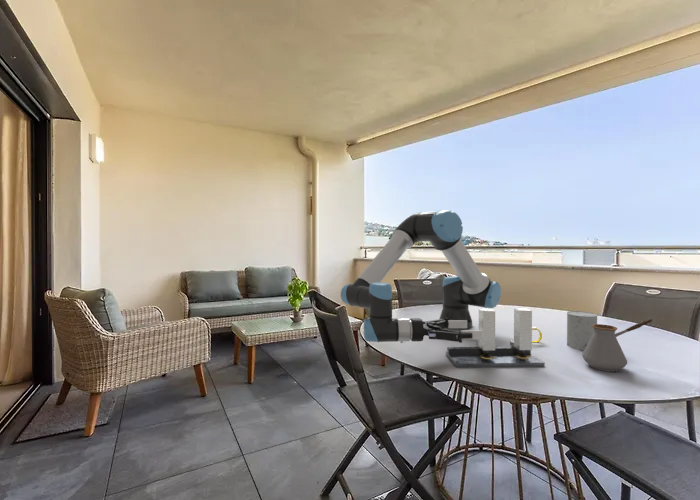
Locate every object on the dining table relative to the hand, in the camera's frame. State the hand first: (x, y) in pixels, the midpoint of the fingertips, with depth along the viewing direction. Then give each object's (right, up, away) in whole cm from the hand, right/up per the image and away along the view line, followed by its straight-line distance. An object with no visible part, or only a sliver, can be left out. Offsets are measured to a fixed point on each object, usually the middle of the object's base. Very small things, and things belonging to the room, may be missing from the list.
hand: (474, 329), depth 116 cm
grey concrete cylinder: (+46, -10, +15) cm, 49 cm away
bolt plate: (+7, -11, +1) cm, 12 cm away
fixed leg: (+16, -9, +3) cm, 19 cm away
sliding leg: (+4, -9, +3) cm, 10 cm away
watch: (+31, -10, +21) cm, 38 cm away
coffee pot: (+44, -11, -6) cm, 45 cm away
